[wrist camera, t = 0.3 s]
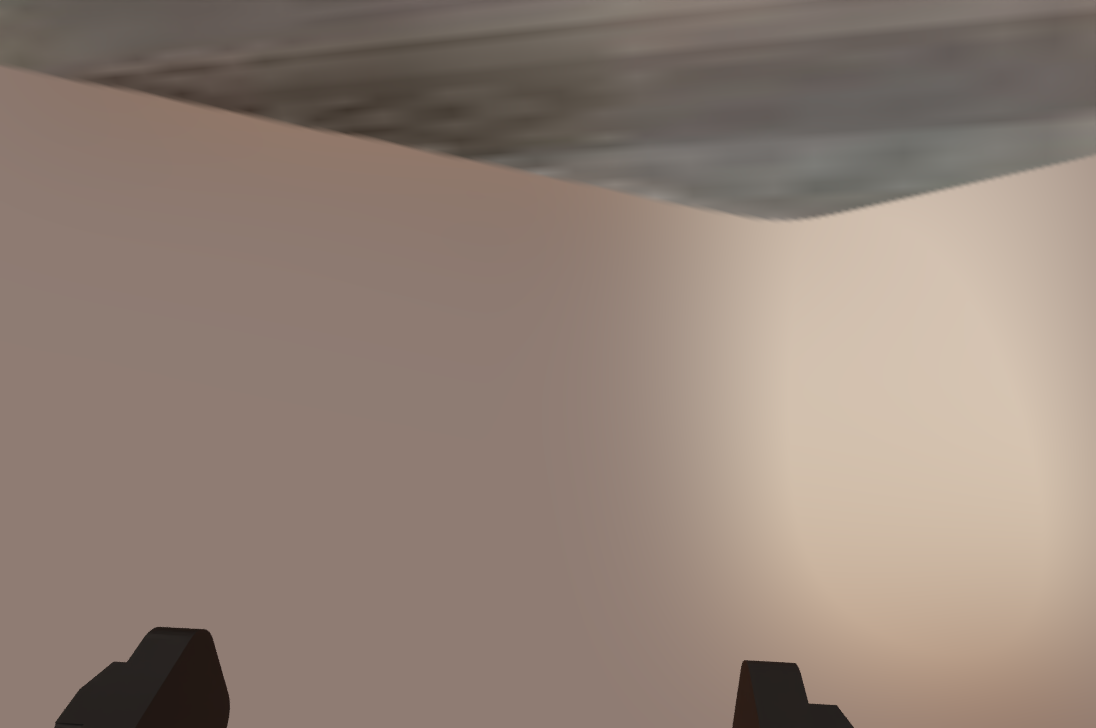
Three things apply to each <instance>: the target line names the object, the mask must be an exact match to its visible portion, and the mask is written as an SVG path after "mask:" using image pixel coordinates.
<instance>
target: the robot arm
mask: <svg viewBox="0 0 1096 728" xmlns="http://www.w3.org/2000/svg"><path fill="white" fill-rule="evenodd" d="M229 710H230V701H229V694H228V691H227V687H226V684H225V680H224V677H223V673H222V670H221V666H220V663H219V659H218V656H217V652H216V649H215V645H214V641H213V638H212V636H211V634H210V632H208V631H207V630H205V629H189V628H170V627H169V628H168V627H156V628H154V629H152V630H151V631H150V632H148V634H147V635H146V636H145V637H144V638H143V640H142V641H141V643H140V644H139V646H138V647H137V649H136V650H135V651H134V653H133V654H132V656H131V657H130V659H129V660H128V661H127V662H113V663H111V664H110V665H109V666H108V667H107V668H105V669H104V670H103V671H102V672H100V673H99V674H98V675H97V676H95V677H94V678H93V679H92V680H91V681H89V682H88V683H87V684H86V685H85V686H83V687H82V688H81V689H80V690H79V691H78V692H77V694H76V695H75V696H74V698H73V699H72V700H71V702H70V703H69V705H68V706H67V707H66V709H65V710H64V711H63V713H62V714H61V715H60V717H59V718H58V719H57V721H56V722H55V723H56V724H55V728H227V724H228V718H229ZM732 728H854V727H853V726H852V725H851V724H850V722H849V721H848V719H847V718H846V717H845V716H844V714H843V713H842V712H841V710H840V709H839V708H838V706H837V705H824V704H823V705H822V704H808V700H807V696H806V692H805V688H804V684H803V681H802V677H801V673H800V670H799V668H798V666H797V665H796V663H785V662H765V661H748V660H744V661H743V663H742V666H741V673H740V679H739V686H738V692H737V699H736V706H735V713H734V721H733V727H732Z"/></svg>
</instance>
